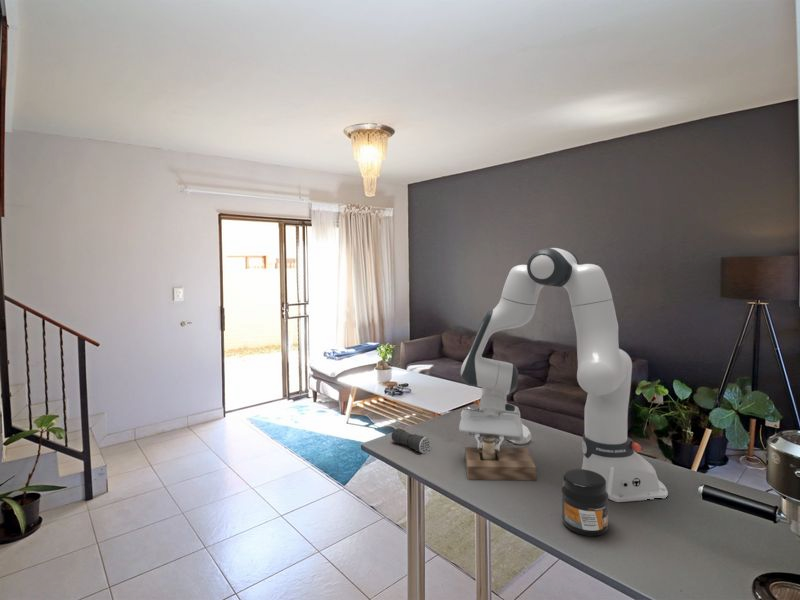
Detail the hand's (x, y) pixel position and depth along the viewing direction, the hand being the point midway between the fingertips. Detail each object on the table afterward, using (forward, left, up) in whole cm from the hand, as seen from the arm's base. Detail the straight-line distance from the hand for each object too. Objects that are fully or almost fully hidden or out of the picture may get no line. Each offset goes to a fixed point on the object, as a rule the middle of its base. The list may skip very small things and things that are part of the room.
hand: (488, 450), depth 136 cm
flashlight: (+26, -17, -7) cm, 32 cm away
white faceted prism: (-9, -30, -7) cm, 32 cm away
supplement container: (-20, +28, -7) cm, 35 cm away
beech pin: (0, -1, -4) cm, 4 cm away
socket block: (-3, -1, -6) cm, 7 cm away
